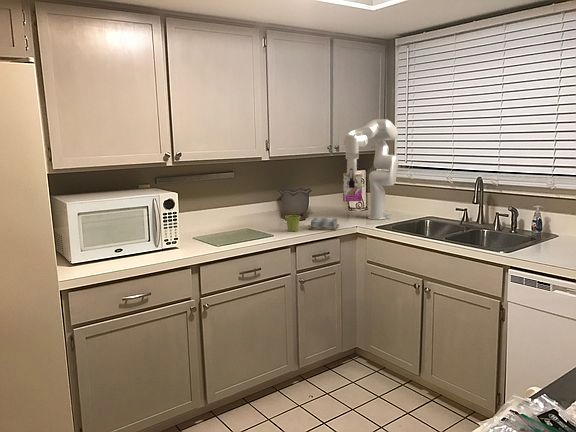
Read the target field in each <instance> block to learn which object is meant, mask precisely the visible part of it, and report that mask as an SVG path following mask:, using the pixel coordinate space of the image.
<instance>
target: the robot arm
mask: <svg viewBox="0 0 576 432" xmlns="http://www.w3.org/2000/svg"><path fill="white" fill-rule="evenodd" d="M398 135H399V132H398V129H397V127H396V126H395V125H394V124H393V122H392V121H391V120H389V119H387V118H385V119H384V118H382V119H381V118H380V119H372V120H370V121H369V122H367V124H366V125H364V126H361V127H358V128H355V129H353V130H350V131H349V132H348V133H347V134H346V135H345V136H344V138H343V144H344V146H345V160H347V161H346V173H347V176H348V175H349V188H354V187H355V181H354V176H355V174H356V173H358V172H357V170H358V169H357V168H358V167H357V166H358V162H357V160H358V159H359V157H360V155H359V154H360V153H359V148H363V147H365V146H367V145H368V142H369V140H370V139H372V140H373V142H374V145H375V152H374V153H375V154H374V158H373V167H374V168H375V169H377V170H372V171H371V172H369V175H368V180H369V188H370V190H369V191H370V196H369V197H370V199H369V203H370V204H369V206H370V207H369V208H370V210H369V211H370V212H369V214H370V215H368V216H367V219H370V220H375V221H376V220H377V221H379V220H381V221H382V220H386V219H388V216H389V217H392V216H393V213H392V212H386V208H385V207H386V191H385V189H384V187H383V186H387V187H391V186H394V185H395V184H396V180H397V176H398V175H397V174H398V169H399V159H398V156H397V155H395V154H389V150H390V147H389V145H388V144H387V142H386V141H395V140H396V139H397V138H398ZM352 175H353V176H352Z"/></svg>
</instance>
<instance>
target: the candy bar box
mask: <svg viewBox="0 0 576 432" xmlns="http://www.w3.org/2000/svg"><path fill="white" fill-rule="evenodd" d="M352 176H353V175H352ZM354 181H355V187H354V188H349V175H348V176H347V172H346V173H342V199H343V200H342V201H343V202H363V201H362V200H363V199H362V197H363V192H362V191H363V174H362V173H360V172H359V173H358V172H357V173H356V174H355V176H354Z"/></svg>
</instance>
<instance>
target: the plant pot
mask: <svg viewBox="0 0 576 432" xmlns="http://www.w3.org/2000/svg"><path fill="white" fill-rule="evenodd" d="M301 217H302V216H301V215H299V214H297V215H296V214H290V215H289V214H288V215H285V216H284V218H285V220H286V225H287V226H286V227H287V231H288V232H298V231H299V226H300V220H301Z"/></svg>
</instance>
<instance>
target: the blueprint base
mask: <svg viewBox="0 0 576 432" xmlns="http://www.w3.org/2000/svg"><path fill="white" fill-rule="evenodd" d="M339 226H340V224H339V223H338V217H314V218H312V220H311V221H310V227H308V230H309V229H310V230H309V231H337V229H338V228H339Z"/></svg>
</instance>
